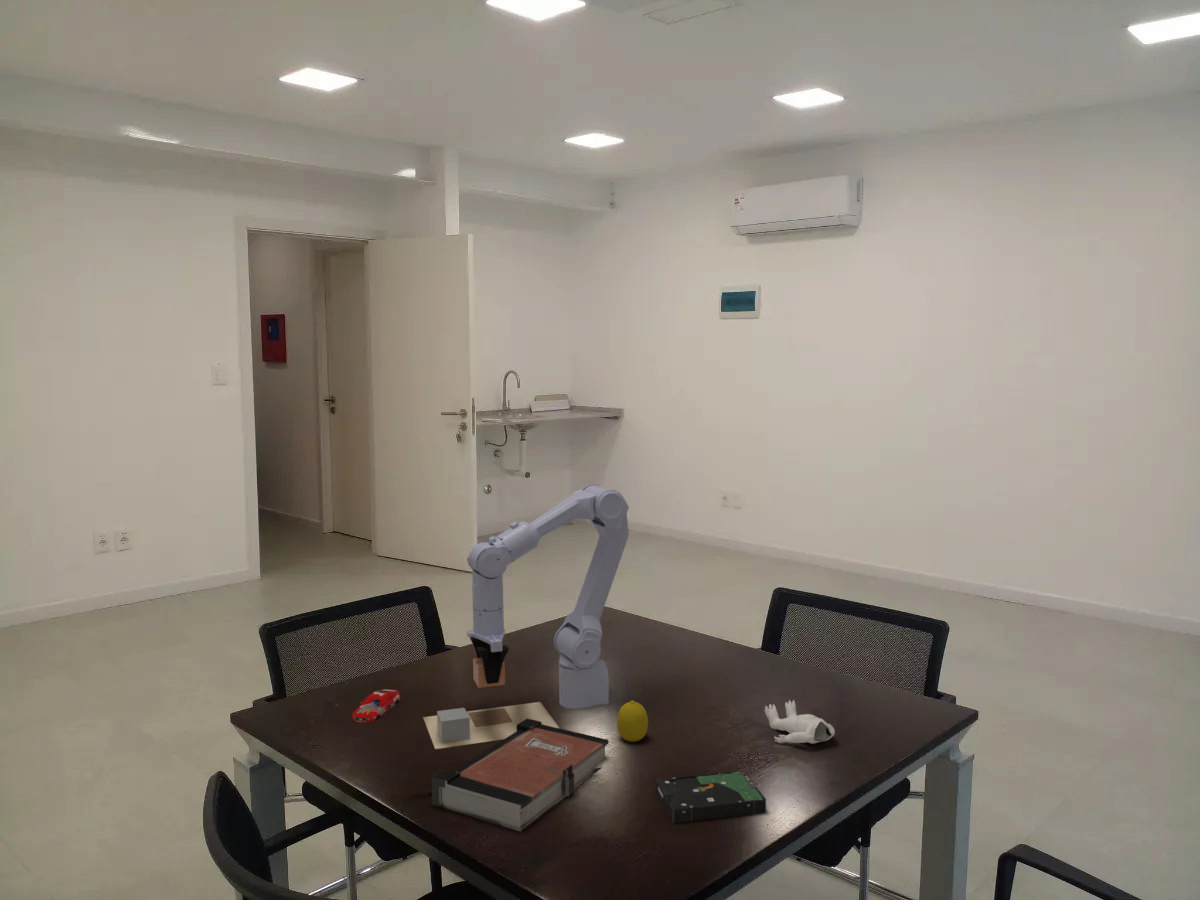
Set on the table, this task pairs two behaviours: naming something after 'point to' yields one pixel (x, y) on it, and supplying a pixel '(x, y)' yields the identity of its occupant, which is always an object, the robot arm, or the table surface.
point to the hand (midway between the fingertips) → (489, 677)
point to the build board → (493, 723)
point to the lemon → (632, 721)
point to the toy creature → (799, 726)
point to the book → (520, 775)
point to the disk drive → (710, 796)
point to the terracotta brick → (480, 674)
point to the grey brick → (453, 725)
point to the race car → (376, 705)
